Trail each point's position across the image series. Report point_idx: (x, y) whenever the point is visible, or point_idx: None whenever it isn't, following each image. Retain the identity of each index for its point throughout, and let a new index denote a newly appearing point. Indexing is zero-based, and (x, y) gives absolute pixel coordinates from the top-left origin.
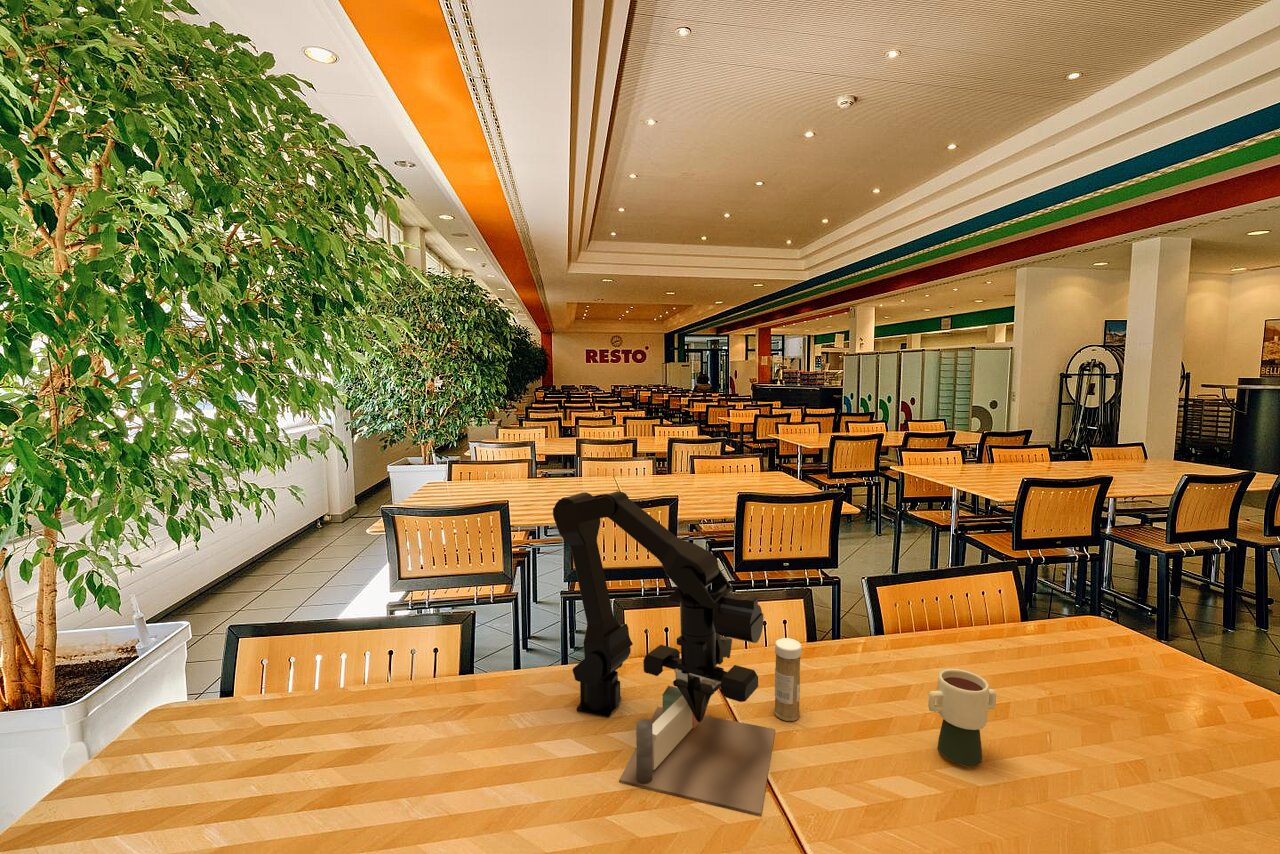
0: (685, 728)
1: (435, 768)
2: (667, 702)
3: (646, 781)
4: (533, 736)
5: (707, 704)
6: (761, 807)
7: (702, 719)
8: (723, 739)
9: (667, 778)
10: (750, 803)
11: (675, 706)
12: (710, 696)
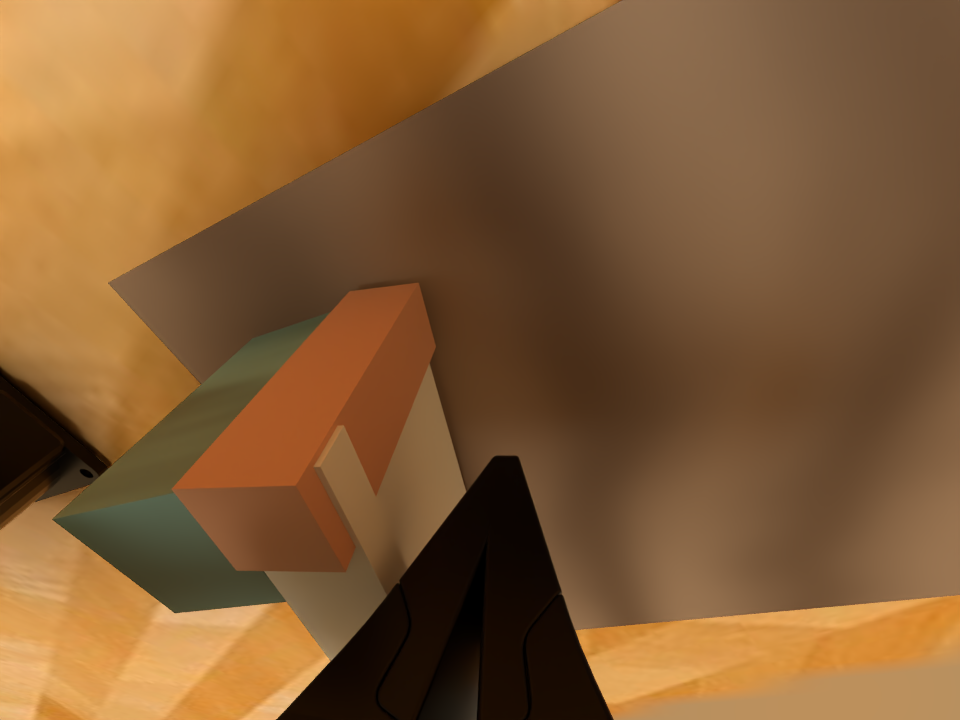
0: (436, 449)
1: (155, 705)
2: None
3: None
4: (122, 608)
5: (551, 566)
6: None
7: (518, 457)
8: (644, 297)
9: None
10: (936, 573)
11: None
12: (589, 670)
